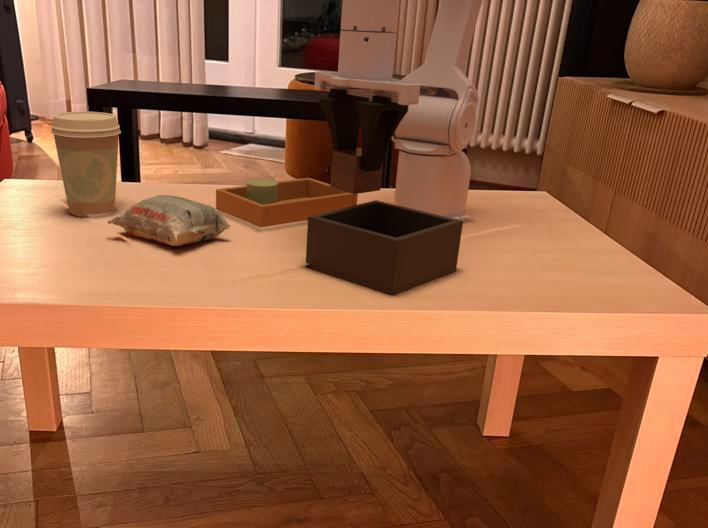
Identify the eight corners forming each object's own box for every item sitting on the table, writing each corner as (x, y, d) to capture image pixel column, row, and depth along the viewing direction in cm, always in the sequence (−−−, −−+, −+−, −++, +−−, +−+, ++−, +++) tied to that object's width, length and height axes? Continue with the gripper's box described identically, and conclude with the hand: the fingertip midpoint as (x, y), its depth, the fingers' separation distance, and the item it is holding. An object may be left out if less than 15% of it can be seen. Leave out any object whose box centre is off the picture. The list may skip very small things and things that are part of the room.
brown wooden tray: (307, 198, 111) (308, 177, 110) (356, 215, 104) (358, 192, 102) (215, 211, 103) (215, 189, 102) (261, 230, 95) (261, 206, 94)
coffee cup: (46, 216, 98) (36, 118, 92) (76, 201, 105) (68, 109, 100) (109, 222, 96) (103, 122, 91) (135, 206, 104) (130, 113, 98)
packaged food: (177, 260, 84) (176, 215, 81) (107, 238, 90) (105, 195, 88) (232, 245, 90) (232, 202, 87) (163, 225, 96) (162, 185, 94)
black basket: (371, 246, 91) (375, 199, 88) (456, 270, 84) (463, 220, 81) (305, 266, 83) (307, 216, 81) (392, 295, 76) (398, 240, 74)
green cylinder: (265, 208, 103) (266, 178, 102) (283, 215, 100) (284, 184, 99) (240, 211, 101) (241, 181, 99) (257, 218, 98) (258, 187, 97)
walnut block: (357, 183, 88) (360, 147, 87) (380, 190, 86) (384, 153, 84) (330, 187, 86) (332, 150, 85) (353, 194, 83) (356, 156, 82)
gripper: (294, 27, 82) (289, 158, 88) (388, 34, 71) (374, 182, 78) (345, 28, 86) (337, 153, 92) (441, 35, 75) (424, 176, 81)
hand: (357, 166), depth 85 cm, fingers closed on walnut block, 4 cm apart
